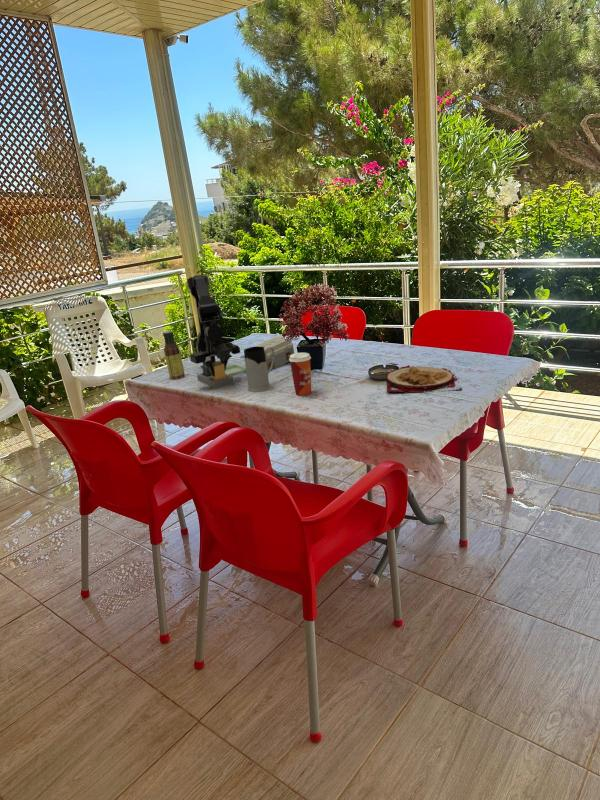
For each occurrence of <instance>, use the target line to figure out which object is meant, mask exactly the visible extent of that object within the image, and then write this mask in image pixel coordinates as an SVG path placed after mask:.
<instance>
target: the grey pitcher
mask: <svg viewBox="0 0 600 800" xmlns="http://www.w3.org/2000/svg"><path fill="white" fill-rule="evenodd" d="M269 348H271V347H268V348H267V349H266V350H265V351H264V347H254V346H251V347H247V348H244V349H243V354H244V355H245V358H244V364H245V367H246V372H245V373H246V380H247V391H248V392H251V393H259V392H266V391H268V390H269V389H270V388H272V386H271V384H270V381H269V375H270V372H271V371H272V367H273V364H274V350H273V348H271V349H272V352H273V360H272V364H271V367H270V369H269V371H267V363H266V359H267V350H268V349H269Z"/></svg>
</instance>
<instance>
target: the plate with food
mask: <svg viewBox="0 0 600 800" xmlns="http://www.w3.org/2000/svg"><path fill="white" fill-rule="evenodd" d="M388 365H392V366H393V368H394V367H395V366H398V365H399V364H398V363H392V362H389V363H388ZM397 369H398V370H397ZM455 376H456V373H453V372H452V371H451V370H449V369H447V368H444V367H443V368H440V367H433V366H414V365H412V366H411V365H409V364H408V365H406V366H401V367H400V366H399V368H396V370H393V371H391V372H389V373H388V374H387V375H386V374H385V379H386V392H389V393H420V392H422V393H423V394H424V393H426V392H434V391H437V390H440V389H441V391H439V392H442V389H447V388H448V389H449V388H450V389H449V390H448V391H447V390H444V392H446V391H447V392H449V391H451V389H452V388H453V389H454V388H456V384H455V382H458V384H459V383H460V381H459V379H458V378H455ZM392 387H393V388H395V389H391V388H392ZM462 389H463V387H461V386H459V387H458V388H457V391H459V390H462Z"/></svg>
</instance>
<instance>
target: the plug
mask: <svg viewBox="0 0 600 800" xmlns="http://www.w3.org/2000/svg"><path fill="white" fill-rule="evenodd" d="M213 369H214V374H215V377H213V376H212V379H213V380H215V381H217V380H221V379H224V378H226V374H225V367H224V364H223V363H221V362H220V360H216V362H213Z"/></svg>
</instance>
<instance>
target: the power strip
mask: <svg viewBox="0 0 600 800" xmlns="http://www.w3.org/2000/svg"><path fill="white" fill-rule="evenodd" d="M196 376H197V377H196V378H197V381H198V382H200V383H202V384H205V385H206V386H209V387H211V388H213V389H215V390H216V389H220V388H223V387H226V386H230V385H233V384H235V381H234V376H229V375H226V378H224V379H221V380H217V381H215V380H213V379H212V376H208V377H206V376H204V374H203V372H201V373H197V374H196Z"/></svg>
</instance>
